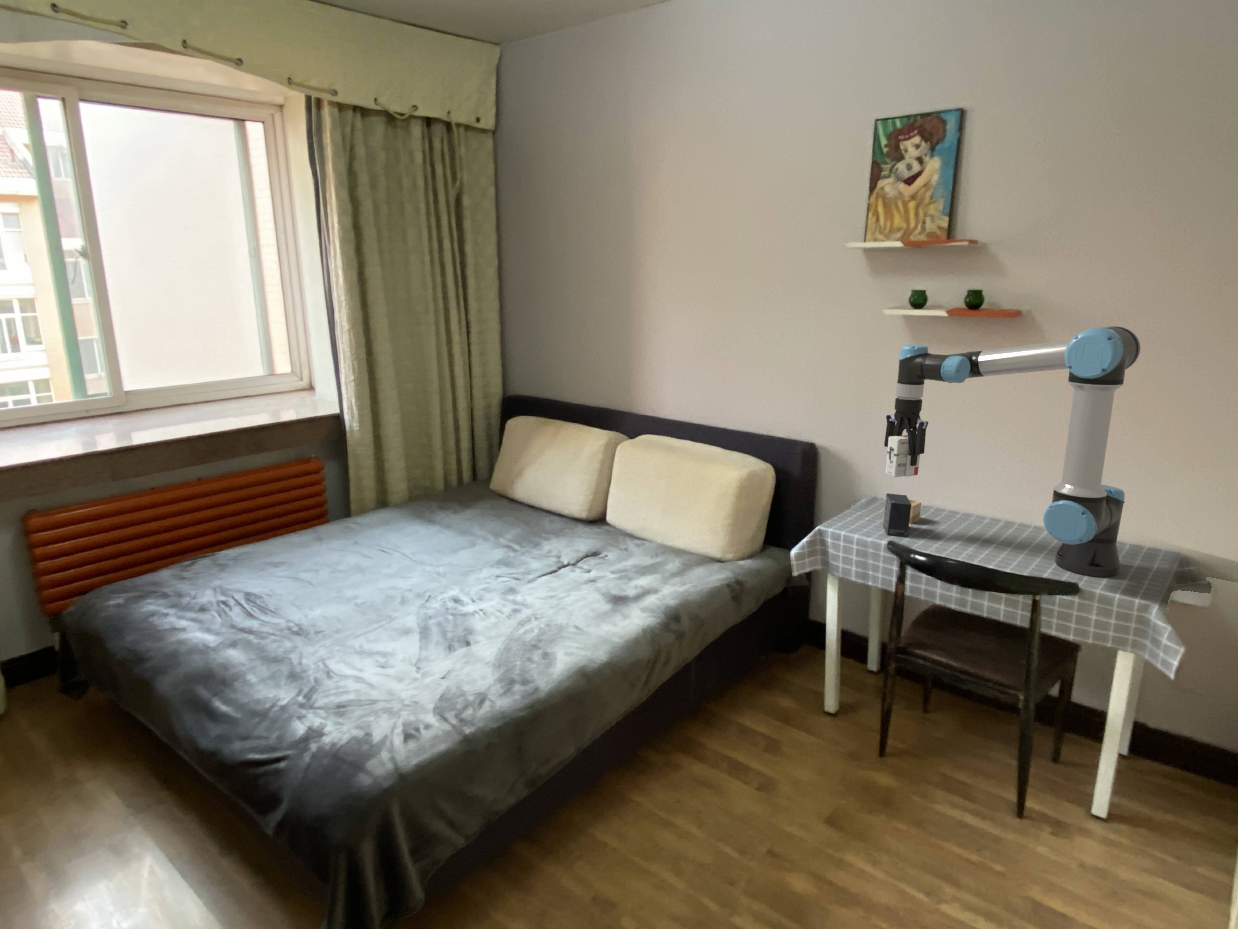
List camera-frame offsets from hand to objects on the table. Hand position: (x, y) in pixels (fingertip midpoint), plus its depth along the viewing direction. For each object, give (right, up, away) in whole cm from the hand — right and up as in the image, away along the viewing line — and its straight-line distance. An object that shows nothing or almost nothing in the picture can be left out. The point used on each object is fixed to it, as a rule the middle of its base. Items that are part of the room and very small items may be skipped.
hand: (901, 473), depth 232 cm
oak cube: (+7, -15, +15) cm, 23 cm away
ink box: (0, 0, 0) cm, 1 cm away
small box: (0, -18, +4) cm, 19 cm away
